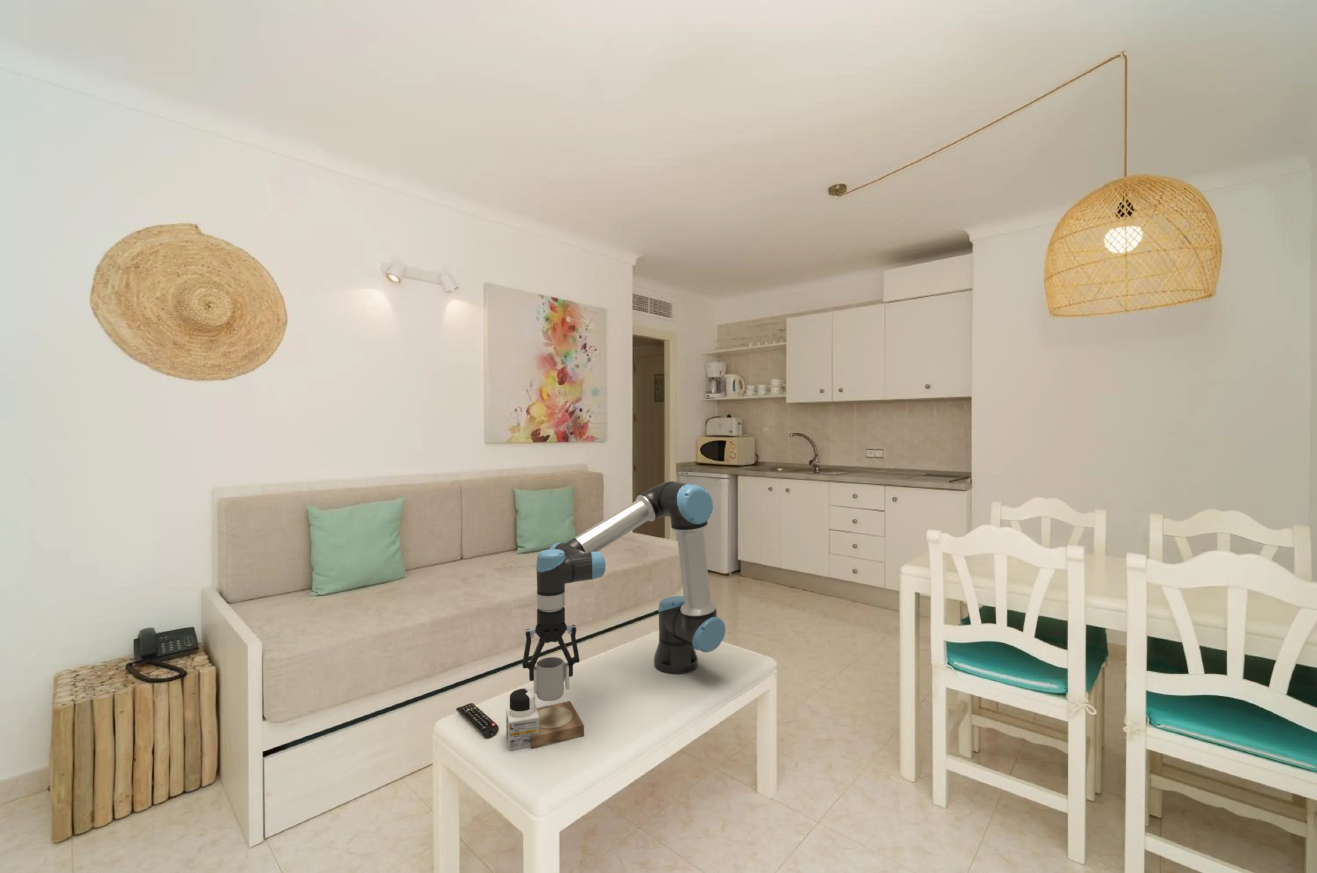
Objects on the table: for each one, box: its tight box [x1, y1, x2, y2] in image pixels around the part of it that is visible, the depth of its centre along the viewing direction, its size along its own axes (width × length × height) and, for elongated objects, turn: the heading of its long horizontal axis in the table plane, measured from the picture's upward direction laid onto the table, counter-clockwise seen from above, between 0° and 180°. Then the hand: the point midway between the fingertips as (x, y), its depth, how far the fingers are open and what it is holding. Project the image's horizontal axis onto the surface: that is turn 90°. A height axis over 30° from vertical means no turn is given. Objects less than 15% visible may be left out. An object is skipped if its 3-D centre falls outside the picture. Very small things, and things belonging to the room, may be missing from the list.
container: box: [505, 688, 539, 752], centre depth 147 cm, size 8×8×13 cm
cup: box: [536, 656, 566, 702], centre depth 152 cm, size 7×10×9 cm
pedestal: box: [530, 700, 585, 750], centre depth 153 cm, size 14×14×3 cm
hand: (551, 689), depth 152 cm, fingers closed on cup, 8 cm apart
